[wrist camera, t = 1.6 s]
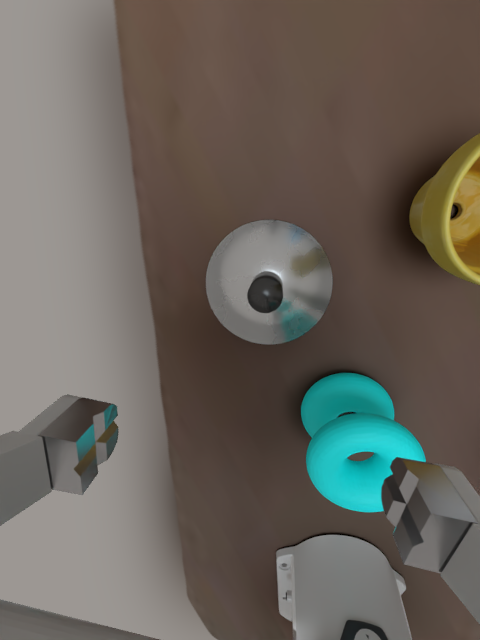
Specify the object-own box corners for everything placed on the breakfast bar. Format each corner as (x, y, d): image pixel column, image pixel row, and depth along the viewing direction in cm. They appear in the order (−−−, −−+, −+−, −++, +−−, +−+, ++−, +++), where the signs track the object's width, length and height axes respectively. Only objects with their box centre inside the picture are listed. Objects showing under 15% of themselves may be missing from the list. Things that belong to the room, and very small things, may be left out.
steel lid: (316, 348, 31) (322, 371, 26) (204, 330, 32) (190, 349, 28) (344, 228, 27) (358, 229, 22) (213, 212, 28) (199, 210, 23)
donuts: (432, 424, 21) (433, 519, 24) (385, 362, 30) (390, 436, 33) (299, 434, 23) (315, 520, 26) (294, 373, 32) (306, 442, 35)
